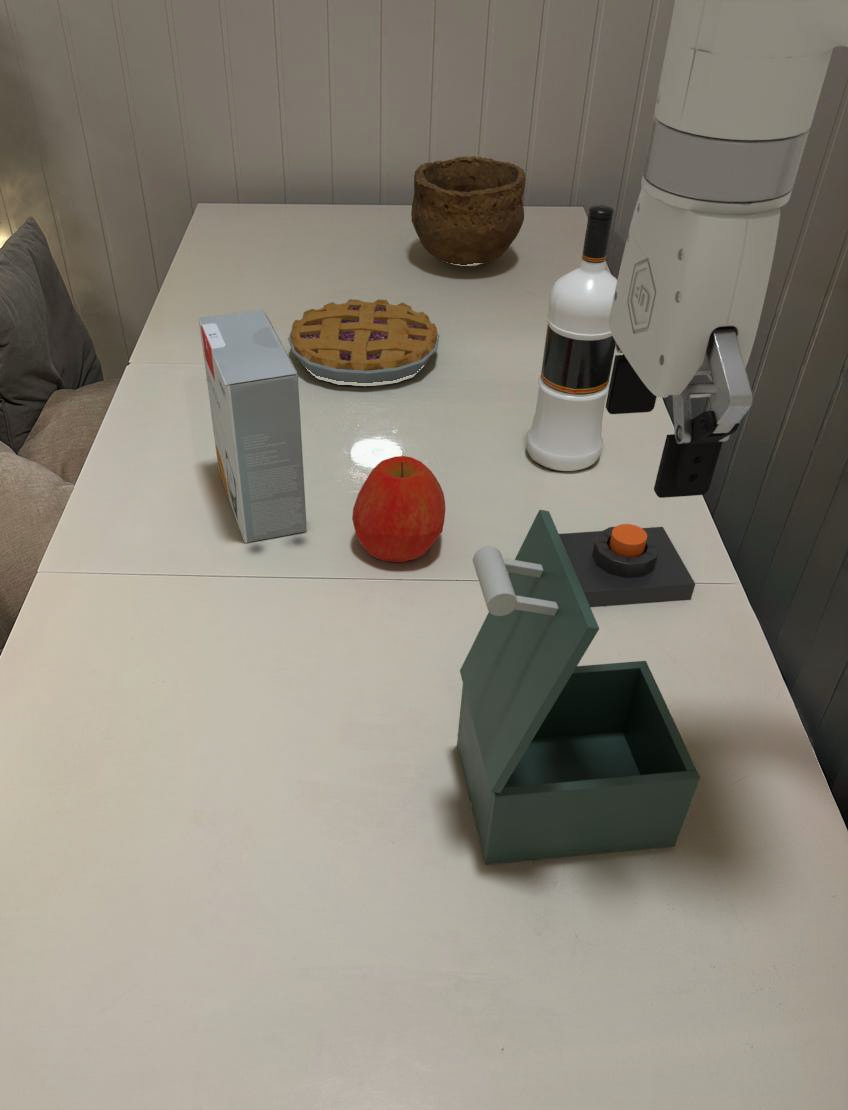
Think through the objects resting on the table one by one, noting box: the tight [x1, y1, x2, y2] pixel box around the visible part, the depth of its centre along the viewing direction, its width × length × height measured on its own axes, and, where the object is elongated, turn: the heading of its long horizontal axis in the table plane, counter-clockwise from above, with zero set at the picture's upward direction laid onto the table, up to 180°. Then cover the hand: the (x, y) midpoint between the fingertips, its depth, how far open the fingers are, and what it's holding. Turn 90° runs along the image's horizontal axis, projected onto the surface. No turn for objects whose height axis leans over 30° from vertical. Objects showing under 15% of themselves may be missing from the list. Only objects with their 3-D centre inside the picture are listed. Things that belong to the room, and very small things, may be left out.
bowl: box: [410, 155, 526, 265], centre depth 159 cm, size 19×19×15 cm
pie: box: [287, 298, 440, 383], centre depth 137 cm, size 22×22×5 cm
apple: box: [351, 455, 447, 563], centre depth 102 cm, size 10×10×10 cm
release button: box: [609, 523, 647, 557], centre depth 99 cm, size 4×4×2 cm
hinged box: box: [456, 660, 701, 865], centre depth 78 cm, size 16×13×9 cm
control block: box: [559, 526, 696, 608], centre depth 101 cm, size 12×10×4 cm
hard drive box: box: [197, 309, 307, 543], centre depth 105 cm, size 16×8×20 cm, turn 17°
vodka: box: [525, 203, 618, 472], centre depth 109 cm, size 9×9×30 cm
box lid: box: [459, 509, 600, 793], centre depth 68 cm, size 16×13×6 cm
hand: (652, 450), depth 60 cm, fingers open, 9 cm apart
